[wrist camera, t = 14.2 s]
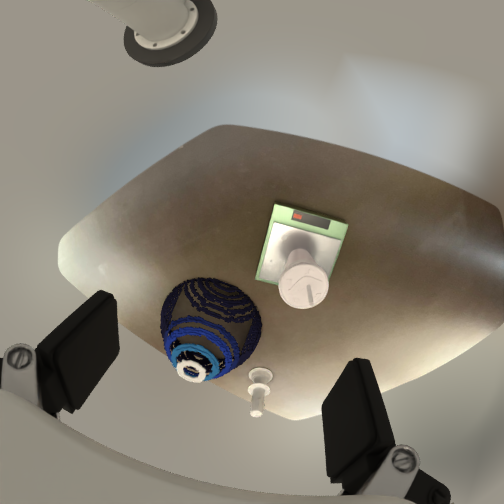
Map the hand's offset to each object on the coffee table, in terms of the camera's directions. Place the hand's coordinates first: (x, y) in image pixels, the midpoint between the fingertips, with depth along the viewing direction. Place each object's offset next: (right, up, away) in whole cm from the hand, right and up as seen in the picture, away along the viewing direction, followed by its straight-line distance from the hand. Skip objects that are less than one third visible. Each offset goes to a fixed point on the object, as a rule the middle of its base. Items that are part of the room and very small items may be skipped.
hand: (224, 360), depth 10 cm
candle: (+3, -23, +47) cm, 53 cm away
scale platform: (+9, +3, +34) cm, 35 cm away
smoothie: (+8, +3, +33) cm, 34 cm away
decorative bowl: (-7, -10, +43) cm, 45 cm away
